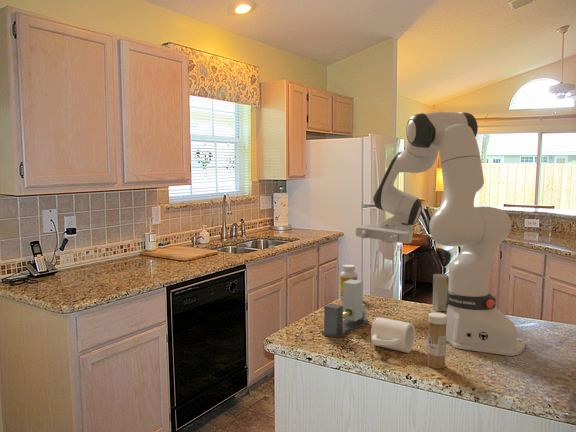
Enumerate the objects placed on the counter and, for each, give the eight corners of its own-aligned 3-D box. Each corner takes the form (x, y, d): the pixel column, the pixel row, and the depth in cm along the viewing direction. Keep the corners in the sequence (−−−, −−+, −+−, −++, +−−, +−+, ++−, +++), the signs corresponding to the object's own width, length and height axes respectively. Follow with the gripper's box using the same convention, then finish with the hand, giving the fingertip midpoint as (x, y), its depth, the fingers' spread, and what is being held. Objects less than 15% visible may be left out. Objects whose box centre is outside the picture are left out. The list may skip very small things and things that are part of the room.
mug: (382, 340, 141) (382, 314, 140) (415, 347, 135) (415, 320, 134) (363, 353, 131) (364, 325, 131) (398, 361, 126) (398, 332, 125)
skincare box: (449, 311, 169) (450, 277, 168) (437, 311, 169) (438, 277, 168) (444, 306, 175) (445, 273, 174) (432, 306, 175) (432, 273, 174)
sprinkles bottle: (423, 363, 124) (424, 312, 123) (437, 360, 126) (439, 310, 124) (435, 370, 120) (436, 318, 118) (449, 367, 122) (451, 315, 120)
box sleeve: (362, 317, 156) (362, 281, 155) (355, 321, 152) (355, 284, 151) (350, 314, 159) (350, 279, 158) (342, 318, 155) (343, 282, 153)
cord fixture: (367, 321, 158) (368, 294, 157) (339, 338, 142) (339, 309, 142) (351, 318, 161) (351, 292, 161) (321, 334, 146) (322, 305, 145)
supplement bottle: (356, 300, 183) (356, 267, 182) (339, 300, 184) (339, 267, 183) (357, 296, 189) (358, 264, 188) (340, 295, 191) (341, 263, 189)
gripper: (364, 219, 183) (348, 225, 172) (417, 225, 172) (404, 232, 161) (363, 235, 184) (348, 242, 173) (415, 242, 174) (403, 250, 162)
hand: (375, 237), depth 167 cm, fingers open, 8 cm apart
